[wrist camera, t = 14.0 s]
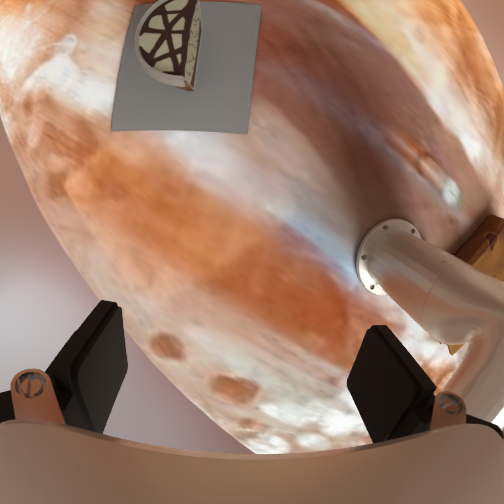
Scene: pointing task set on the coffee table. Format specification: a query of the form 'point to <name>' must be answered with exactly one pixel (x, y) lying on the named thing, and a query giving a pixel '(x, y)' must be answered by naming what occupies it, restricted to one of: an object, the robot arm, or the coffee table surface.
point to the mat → (207, 78)
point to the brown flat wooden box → (484, 253)
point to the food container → (170, 42)
